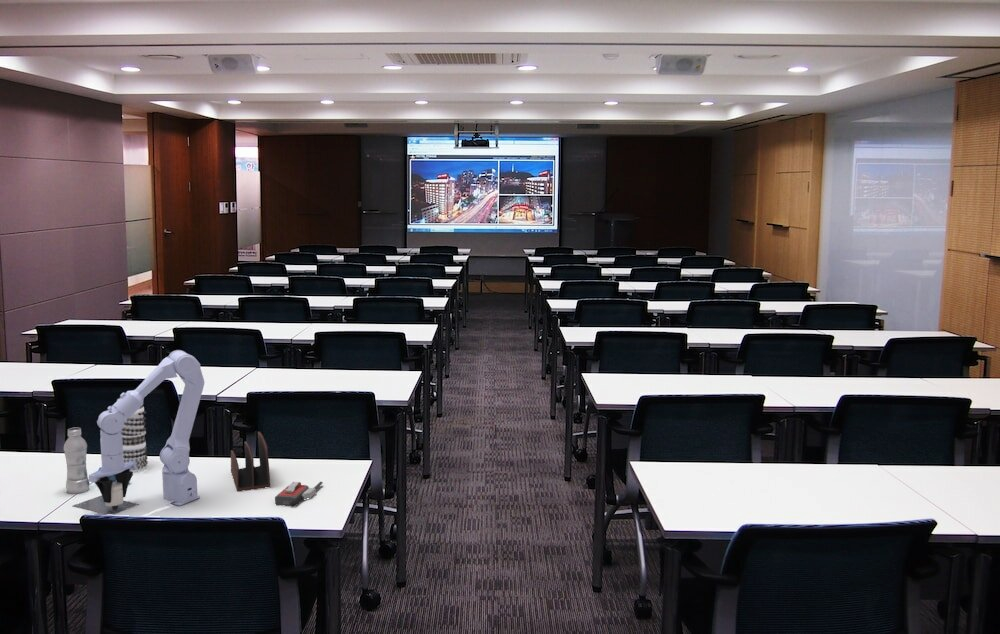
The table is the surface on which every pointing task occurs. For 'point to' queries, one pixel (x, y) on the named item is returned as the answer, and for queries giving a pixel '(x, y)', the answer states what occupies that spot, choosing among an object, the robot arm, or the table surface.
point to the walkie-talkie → (295, 494)
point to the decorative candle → (135, 440)
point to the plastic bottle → (76, 462)
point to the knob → (116, 494)
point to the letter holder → (251, 468)
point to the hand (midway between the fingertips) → (114, 499)
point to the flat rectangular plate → (104, 506)
